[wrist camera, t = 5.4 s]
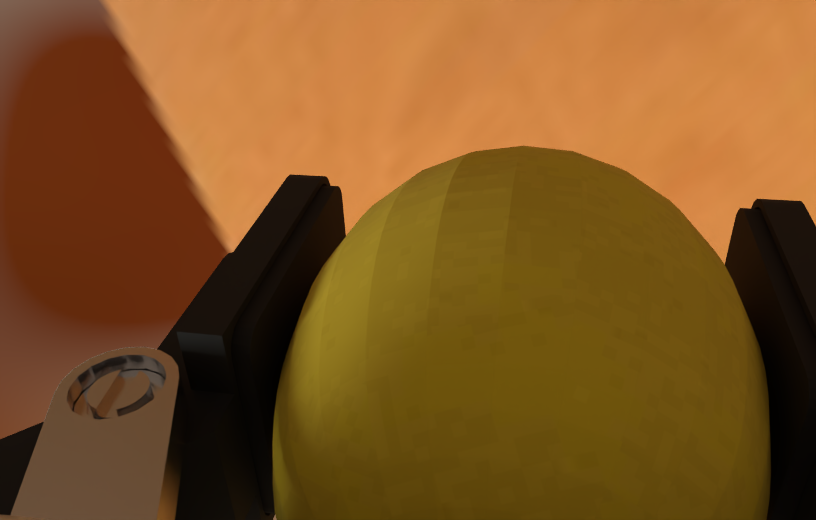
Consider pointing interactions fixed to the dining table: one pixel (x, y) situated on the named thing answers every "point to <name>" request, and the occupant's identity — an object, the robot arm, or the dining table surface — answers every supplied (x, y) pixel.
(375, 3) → the dining table surface
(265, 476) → the robot arm
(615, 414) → the lemon
